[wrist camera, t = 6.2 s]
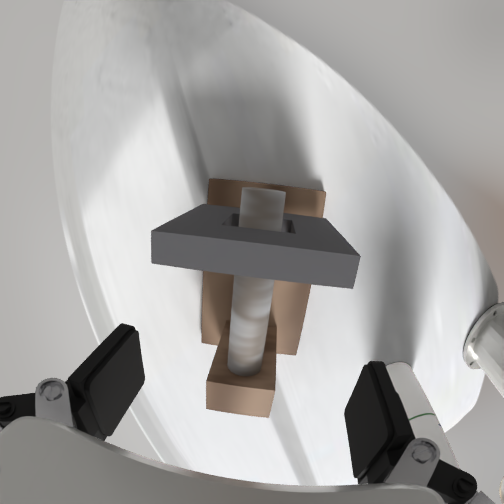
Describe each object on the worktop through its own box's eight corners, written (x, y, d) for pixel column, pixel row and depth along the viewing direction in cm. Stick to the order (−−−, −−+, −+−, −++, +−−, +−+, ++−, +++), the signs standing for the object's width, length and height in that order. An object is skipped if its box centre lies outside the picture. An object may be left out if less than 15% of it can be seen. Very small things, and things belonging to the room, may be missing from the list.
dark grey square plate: (325, 218, 26) (360, 256, 15) (322, 238, 27) (353, 288, 15) (202, 204, 27) (151, 230, 16) (201, 223, 28) (151, 263, 16)
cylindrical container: (381, 402, 36) (419, 533, 13) (361, 382, 35) (399, 534, 12) (418, 376, 35) (475, 503, 11) (401, 354, 34) (468, 500, 10)
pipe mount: (324, 191, 28) (354, 206, 17) (295, 349, 34) (299, 419, 23) (211, 178, 29) (171, 185, 18) (203, 337, 35) (176, 402, 24)
